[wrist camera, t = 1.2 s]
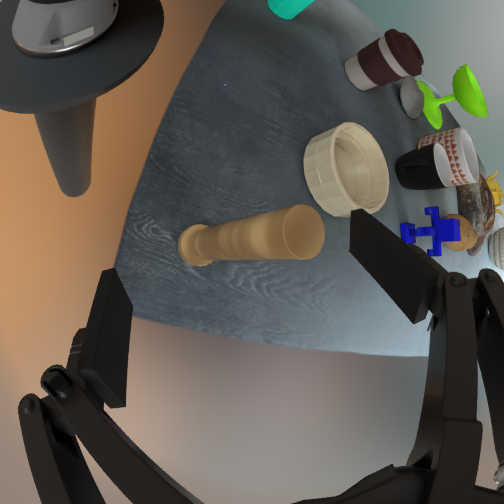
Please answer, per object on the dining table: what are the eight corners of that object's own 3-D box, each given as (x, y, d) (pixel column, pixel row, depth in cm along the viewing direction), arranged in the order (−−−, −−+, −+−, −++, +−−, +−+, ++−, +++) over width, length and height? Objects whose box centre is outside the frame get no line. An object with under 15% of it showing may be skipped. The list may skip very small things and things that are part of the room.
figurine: (406, 260, 54) (458, 259, 44) (392, 233, 52) (447, 228, 41) (416, 234, 57) (465, 231, 47) (403, 207, 54) (454, 200, 44)
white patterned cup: (426, 133, 65) (466, 122, 54) (443, 179, 68) (481, 173, 57) (410, 143, 58) (456, 131, 47) (429, 197, 62) (474, 190, 51)
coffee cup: (337, 78, 46) (400, 45, 33) (339, 47, 48) (394, 16, 35) (371, 105, 51) (431, 81, 38) (370, 74, 53) (424, 50, 40)
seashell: (393, 73, 59) (393, 89, 54) (412, 68, 54) (414, 83, 50) (411, 109, 65) (412, 128, 61) (429, 105, 61) (431, 124, 57)
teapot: (486, 218, 95) (505, 217, 86) (478, 192, 90) (498, 190, 81) (488, 197, 100) (505, 195, 92) (480, 172, 95) (498, 169, 86)
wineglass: (409, 84, 63) (462, 65, 47) (423, 78, 70) (468, 63, 54) (433, 135, 67) (486, 122, 52) (444, 122, 74) (489, 111, 59)
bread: (474, 176, 88) (495, 173, 80) (479, 259, 86) (501, 258, 77) (451, 150, 75) (477, 145, 66) (458, 251, 72) (487, 250, 64)
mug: (409, 156, 57) (446, 147, 49) (415, 195, 57) (454, 189, 49) (380, 146, 51) (423, 133, 43) (387, 190, 51) (432, 182, 43)
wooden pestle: (169, 249, 31) (260, 238, 15) (192, 217, 32) (297, 178, 17) (200, 273, 33) (312, 284, 17) (221, 241, 34) (341, 226, 18)
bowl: (286, 173, 39) (316, 162, 34) (322, 119, 43) (349, 106, 38) (343, 235, 44) (373, 232, 39) (369, 176, 49) (396, 170, 43)
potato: (430, 207, 62) (463, 203, 54) (451, 226, 69) (479, 224, 61) (429, 242, 60) (463, 240, 52) (450, 256, 68) (479, 256, 60)
